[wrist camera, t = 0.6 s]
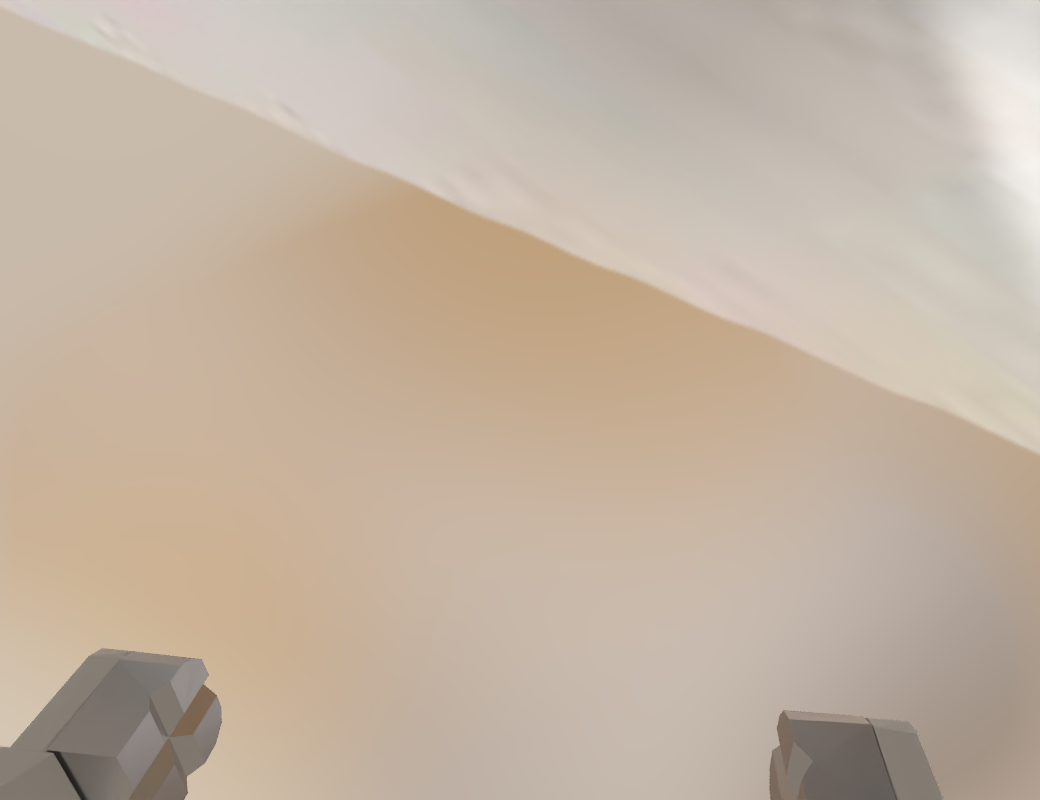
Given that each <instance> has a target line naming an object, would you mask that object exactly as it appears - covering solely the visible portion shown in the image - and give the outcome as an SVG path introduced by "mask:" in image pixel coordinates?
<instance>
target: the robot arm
mask: <svg viewBox="0 0 1040 800" xmlns="http://www.w3.org/2000/svg"><path fill="white" fill-rule="evenodd" d="M208 675H209V674H208V672H207V670H206V668H205V665H204V663H203V661H202V659H194V658H186V657H177V656H168V655H160V654H151V653H142V652H135V651H125V650H114V649H103V648H102V649H100V650H99V651H97V652H95V653H93V654H92V655H90V656H89V657H88V658H87V659H86V660H85V661H84V662H83V664H82V665H81V666H80V667H79V668H78V669H77V670H76V672H75V673H74V674H73V675H72V676H71V677H70V679H69V680H68V681H67V682H66V683H65V684H64V686H63V687H62V688H61V689H60V690H59V691H58V692H57V694H56V695H55V696H54V697H53V698H52V699H51V701H50V702H49V703H48V704H47V705H46V706H45V708H44V709H43V710H42V711H41V712H40V713H39V714H38V716H37V717H36V718H35V719H34V721H32V723H31V724H30V725H29V726H28V727H27V728H26V730H25V731H24V732H23V733H22V734H21V736H20V737H19V738H18V739H17V740H16V741H15V742H14V744H13V745H12V746H11V747H0V800H184V799H185V797H186V795H187V793H188V790H187V776H188V775H190V774H191V773H192V772H194V771H195V770H196V769H197V768H199V767H200V766H202V765H203V764H204V763H205V762H206V760H207V759H208V757H209V755H210V753H211V751H212V750H213V748H214V746H215V744H216V741H217V737H218V734H219V730H220V726H221V723H222V721H221V720H222V719H221V706H220V703H219V700H218V698H217V695H216V694H214V693H213V692H212V691H211V690H209V688H207V687H206V686H205V685H204V682H205V680H206V679H207V677H208ZM777 731H778V736H779V742H780V746H778V747H777V748H776V749H774V750H773V751H772V757H771V763H770V798H771V800H944V797H943V795H942V792H941V790H940V787H939V785H938V782H937V780H936V777H935V775H934V772H933V770H932V767H931V765H930V762H929V760H928V757H927V755H926V753H925V750H924V748H923V745H922V742H921V740H920V738H919V735H918V732H917V730H916V729H915V728H914V727H913V726H912V724H911V723H910V722H908V721H901V720H888V719H875V718H863V717H862V716H851V715H839V714H825V713H813V712H799V711H786V710H784V711H783V712H782V713H781V714H780V717H779V721H778V726H777Z"/></svg>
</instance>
